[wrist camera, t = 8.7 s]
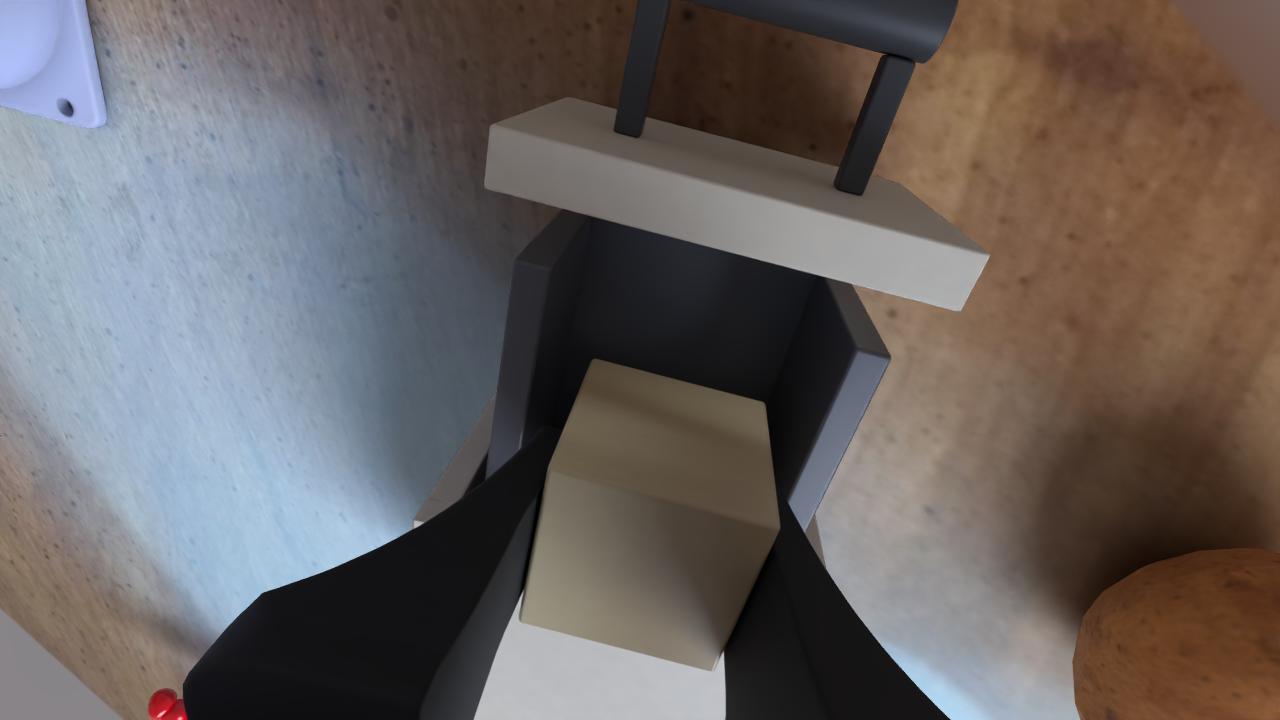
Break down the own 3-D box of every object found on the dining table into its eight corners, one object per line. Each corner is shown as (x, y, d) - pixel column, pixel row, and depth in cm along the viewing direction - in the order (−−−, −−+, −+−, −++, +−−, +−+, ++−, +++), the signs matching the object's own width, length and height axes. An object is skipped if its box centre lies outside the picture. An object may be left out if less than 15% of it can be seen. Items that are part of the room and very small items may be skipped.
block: (563, 490, 15) (516, 624, 12) (592, 355, 13) (546, 467, 10) (715, 530, 15) (714, 674, 12) (766, 401, 13) (783, 528, 10)
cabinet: (514, 362, 22) (412, 519, 15) (800, 436, 22) (840, 629, 15) (480, 596, 28) (396, 788, 21) (704, 654, 28) (699, 866, 21)
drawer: (595, -86, 14) (517, -164, 9) (974, 14, 15) (1129, -4, 9) (514, 431, 22) (445, 563, 16) (765, 496, 22) (780, 649, 16)
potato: (1047, 710, 27) (1154, 929, 20) (1016, 523, 22) (1140, 725, 16) (1302, 682, 24) (1518, 921, 18) (1323, 466, 20) (1623, 677, 13)
